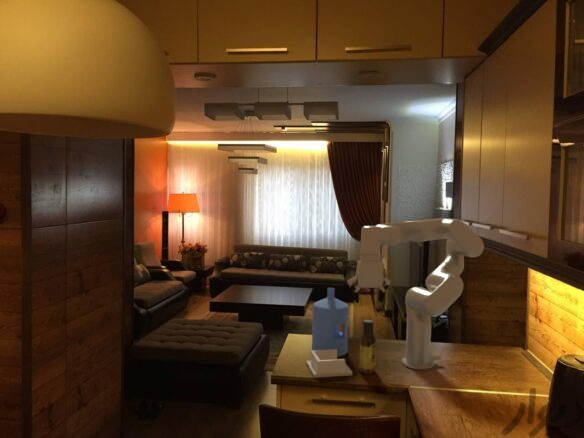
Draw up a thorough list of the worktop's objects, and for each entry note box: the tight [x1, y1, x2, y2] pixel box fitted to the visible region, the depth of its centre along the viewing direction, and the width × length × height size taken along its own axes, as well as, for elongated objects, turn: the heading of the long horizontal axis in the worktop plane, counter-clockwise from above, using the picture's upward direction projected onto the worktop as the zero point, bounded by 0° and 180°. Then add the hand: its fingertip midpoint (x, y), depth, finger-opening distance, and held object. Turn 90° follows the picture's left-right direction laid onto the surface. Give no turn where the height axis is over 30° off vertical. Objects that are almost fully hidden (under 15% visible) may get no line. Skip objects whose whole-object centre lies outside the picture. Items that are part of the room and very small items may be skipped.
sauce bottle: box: [359, 319, 377, 375], centre depth 178 cm, size 7×6×20 cm
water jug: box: [311, 287, 350, 358], centre depth 199 cm, size 16×16×28 cm
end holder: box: [305, 349, 353, 378], centre depth 180 cm, size 15×14×6 cm
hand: (368, 301), depth 177 cm, fingers open, 9 cm apart
